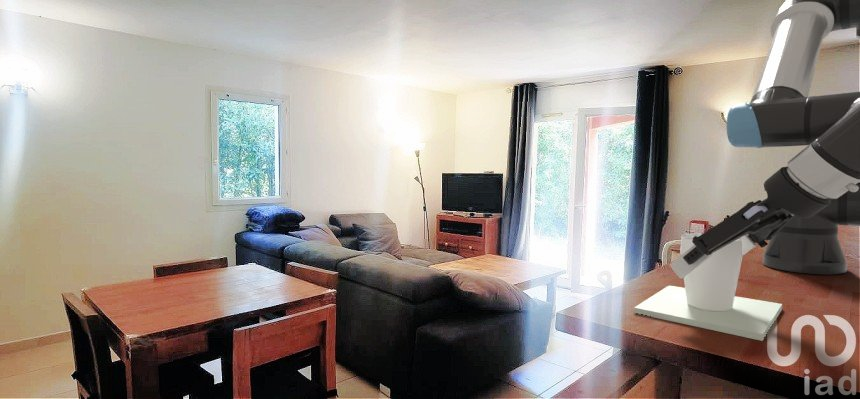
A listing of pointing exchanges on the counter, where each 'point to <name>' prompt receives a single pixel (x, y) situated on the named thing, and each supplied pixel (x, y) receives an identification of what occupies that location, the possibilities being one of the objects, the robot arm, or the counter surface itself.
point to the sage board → (713, 313)
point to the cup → (713, 276)
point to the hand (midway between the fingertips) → (699, 266)
